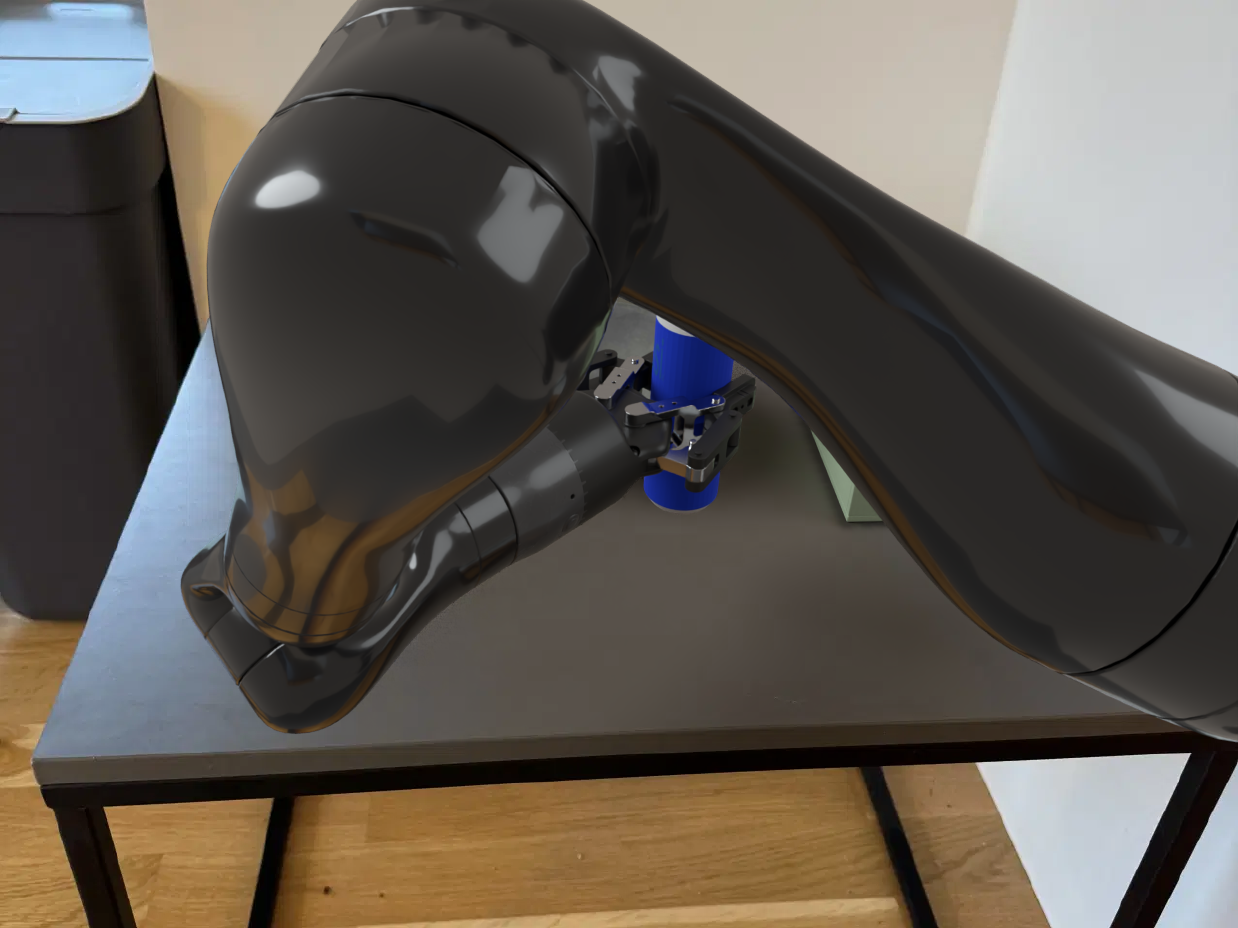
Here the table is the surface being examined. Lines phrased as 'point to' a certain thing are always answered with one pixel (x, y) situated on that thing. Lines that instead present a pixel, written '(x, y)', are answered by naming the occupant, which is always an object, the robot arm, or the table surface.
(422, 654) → the table surface
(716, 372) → the beverage can
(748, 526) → the table surface
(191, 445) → the table surface
